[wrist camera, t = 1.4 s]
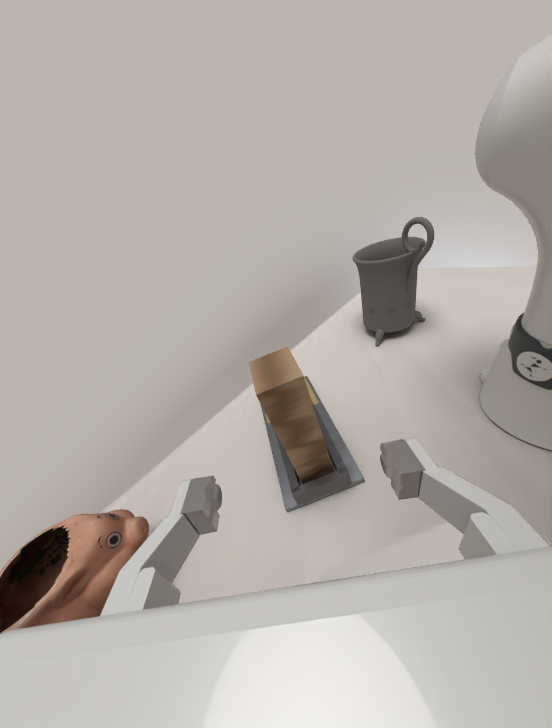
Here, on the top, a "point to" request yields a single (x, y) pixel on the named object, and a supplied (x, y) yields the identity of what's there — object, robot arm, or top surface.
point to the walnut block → (291, 413)
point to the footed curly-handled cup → (392, 280)
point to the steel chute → (324, 486)
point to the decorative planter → (68, 569)
